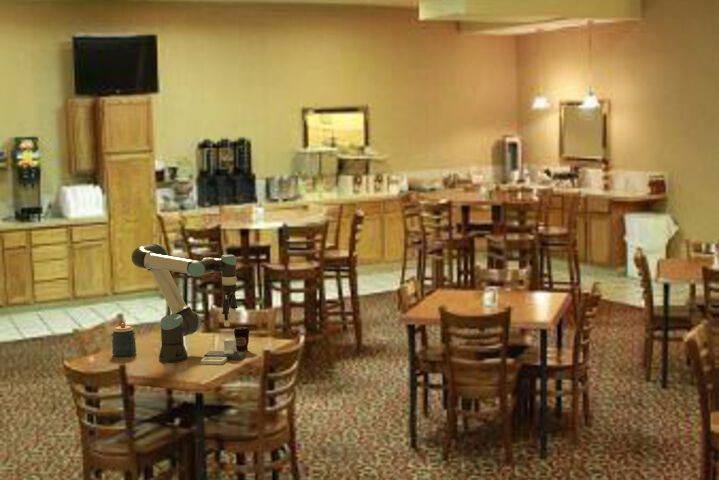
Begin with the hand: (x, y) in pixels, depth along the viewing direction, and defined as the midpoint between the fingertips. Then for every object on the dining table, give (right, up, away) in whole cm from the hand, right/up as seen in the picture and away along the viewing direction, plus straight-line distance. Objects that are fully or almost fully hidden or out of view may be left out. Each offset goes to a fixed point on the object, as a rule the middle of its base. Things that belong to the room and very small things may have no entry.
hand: (230, 323), depth 535 cm
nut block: (0, -19, +2) cm, 19 cm away
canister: (-60, -19, +16) cm, 65 cm away
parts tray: (-8, -20, -7) cm, 22 cm away
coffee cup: (+4, -17, +17) cm, 24 cm away
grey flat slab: (-3, -18, +2) cm, 19 cm away
